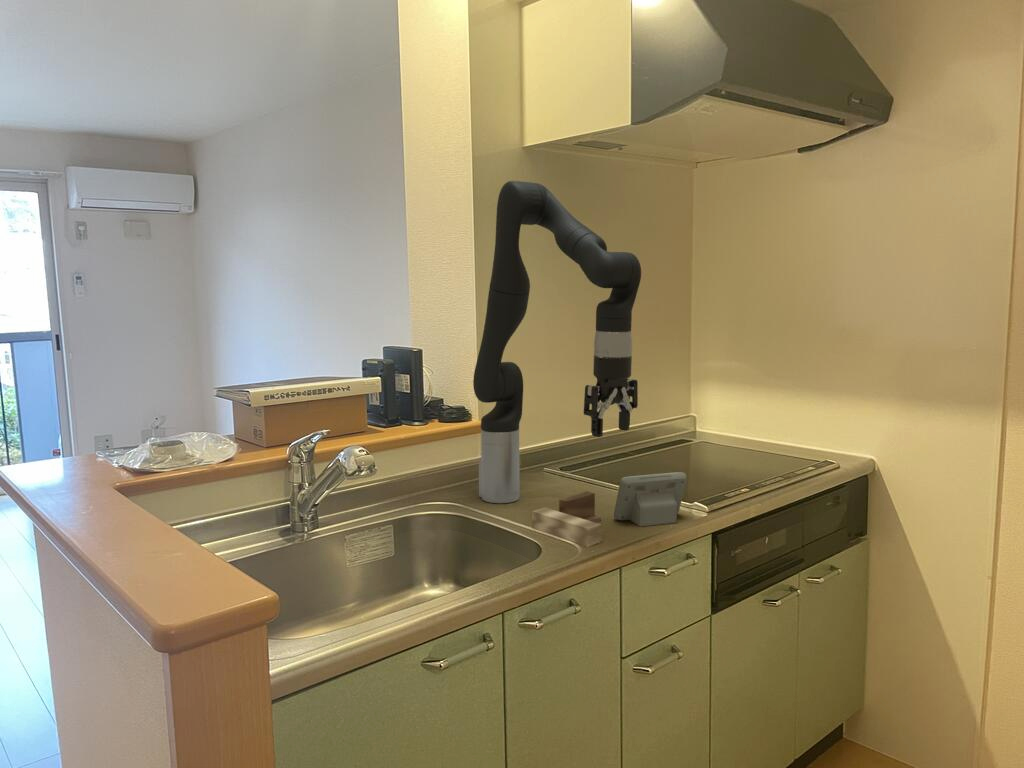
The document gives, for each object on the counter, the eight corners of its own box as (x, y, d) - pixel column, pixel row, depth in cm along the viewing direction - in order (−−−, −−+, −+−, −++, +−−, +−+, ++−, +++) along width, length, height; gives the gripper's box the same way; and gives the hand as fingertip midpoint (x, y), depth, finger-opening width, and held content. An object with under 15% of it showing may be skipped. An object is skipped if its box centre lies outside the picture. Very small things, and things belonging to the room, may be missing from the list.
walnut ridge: (553, 523, 171) (553, 497, 170) (580, 514, 177) (580, 489, 176) (573, 529, 166) (573, 503, 165) (600, 520, 172) (601, 495, 172)
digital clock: (679, 512, 178) (680, 467, 176) (692, 525, 169) (693, 477, 167) (609, 515, 176) (610, 469, 175) (618, 528, 167) (619, 479, 166)
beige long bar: (532, 529, 168) (532, 511, 167) (545, 525, 170) (545, 507, 170) (587, 548, 156) (588, 528, 155) (601, 543, 159) (601, 524, 158)
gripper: (620, 349, 162) (618, 425, 165) (574, 354, 153) (573, 435, 155) (649, 352, 157) (646, 431, 160) (604, 358, 147) (602, 441, 150)
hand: (610, 433), depth 157 cm, fingers open, 8 cm apart
